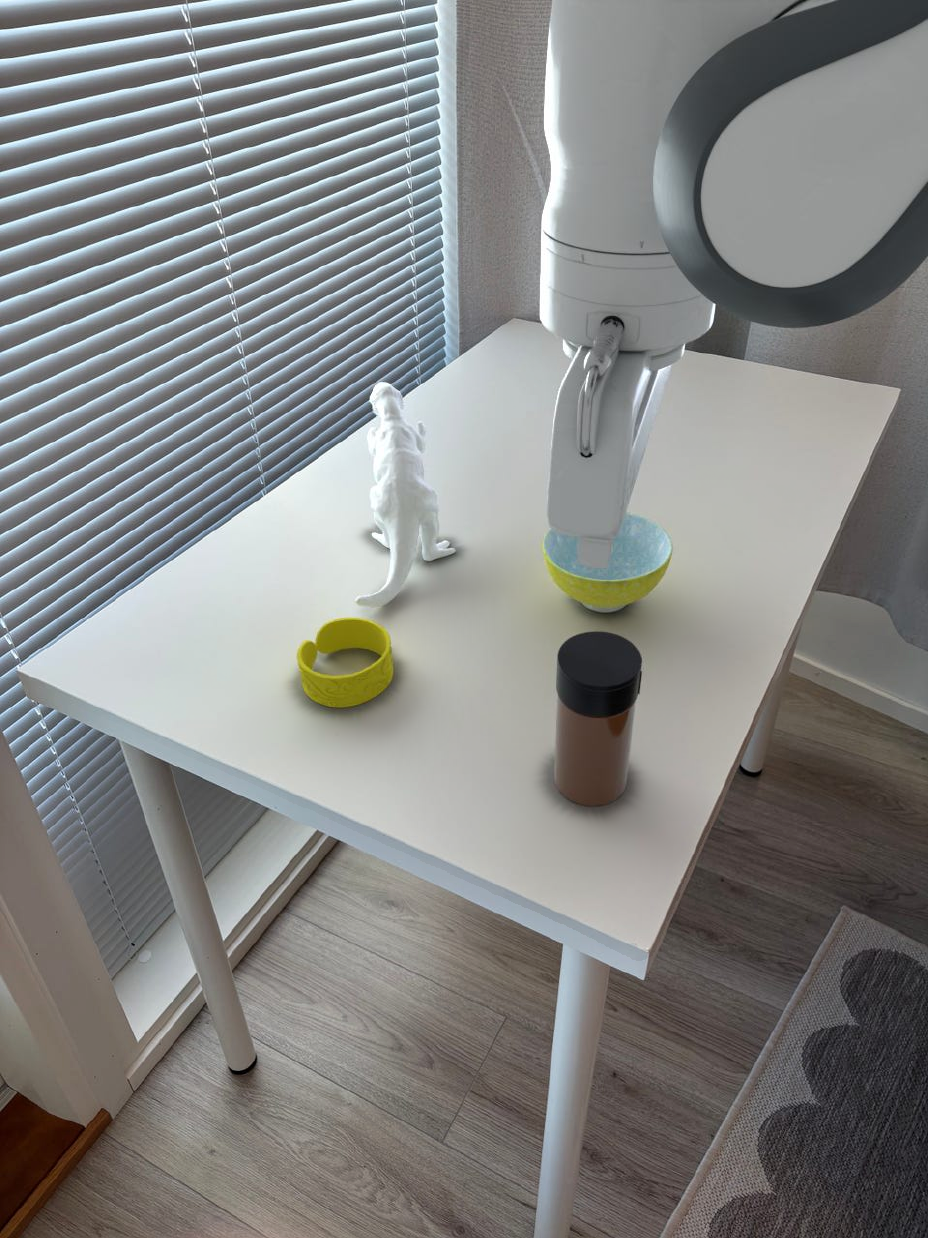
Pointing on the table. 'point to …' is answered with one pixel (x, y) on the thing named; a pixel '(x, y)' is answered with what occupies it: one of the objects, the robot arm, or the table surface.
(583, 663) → the lid
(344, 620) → the bracelet
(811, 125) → the robot arm
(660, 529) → the bowl
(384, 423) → the dinosaur figurine
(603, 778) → the jar
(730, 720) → the table surface
